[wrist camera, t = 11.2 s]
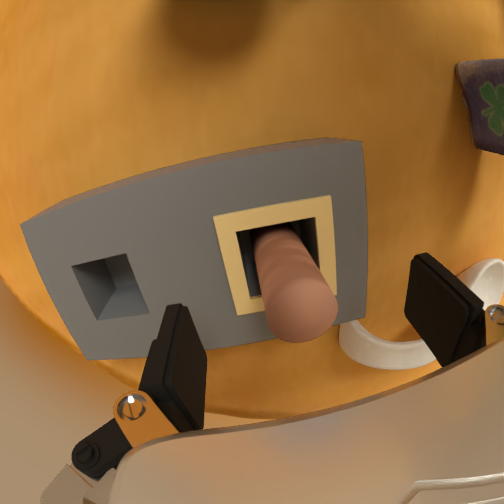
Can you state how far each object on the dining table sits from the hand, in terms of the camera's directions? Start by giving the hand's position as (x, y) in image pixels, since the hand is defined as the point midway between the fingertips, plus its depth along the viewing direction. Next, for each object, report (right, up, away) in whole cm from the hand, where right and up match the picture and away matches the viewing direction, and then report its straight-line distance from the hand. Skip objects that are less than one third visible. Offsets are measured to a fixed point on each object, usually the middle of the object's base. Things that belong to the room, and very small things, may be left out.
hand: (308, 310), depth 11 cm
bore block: (-6, +3, +11) cm, 13 cm away
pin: (-1, +4, +10) cm, 10 cm away
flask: (+20, +17, +7) cm, 27 cm away
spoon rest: (+18, -3, +16) cm, 25 cm away
